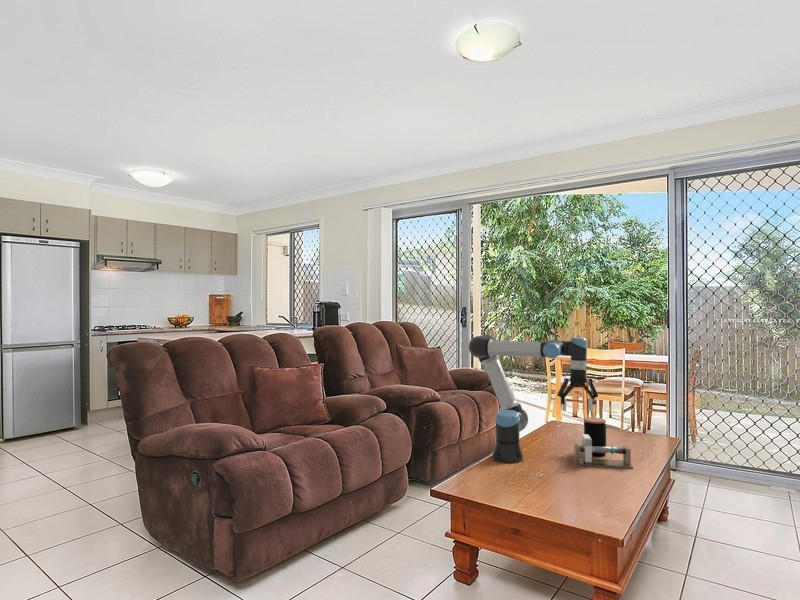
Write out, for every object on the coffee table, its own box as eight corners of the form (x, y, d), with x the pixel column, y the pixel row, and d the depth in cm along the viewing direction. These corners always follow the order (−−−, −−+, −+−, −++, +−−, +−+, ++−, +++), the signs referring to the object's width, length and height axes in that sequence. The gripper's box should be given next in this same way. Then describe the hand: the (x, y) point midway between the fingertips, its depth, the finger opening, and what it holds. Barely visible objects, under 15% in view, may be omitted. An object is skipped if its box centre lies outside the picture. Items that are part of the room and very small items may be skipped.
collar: (585, 462, 245) (585, 439, 245) (581, 456, 255) (581, 434, 255) (591, 462, 244) (591, 439, 244) (588, 456, 254) (588, 434, 254)
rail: (575, 465, 246) (575, 447, 246) (572, 459, 256) (572, 442, 256) (633, 468, 241) (632, 450, 241) (627, 462, 251) (627, 444, 251)
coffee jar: (602, 451, 270) (602, 417, 270) (609, 457, 259) (608, 422, 259) (582, 451, 271) (581, 417, 271) (587, 456, 260) (587, 421, 260)
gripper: (557, 369, 250) (556, 412, 250) (605, 369, 252) (604, 412, 252) (551, 367, 257) (550, 409, 257) (598, 367, 259) (597, 409, 259)
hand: (577, 411), depth 254 cm, fingers open, 13 cm apart
